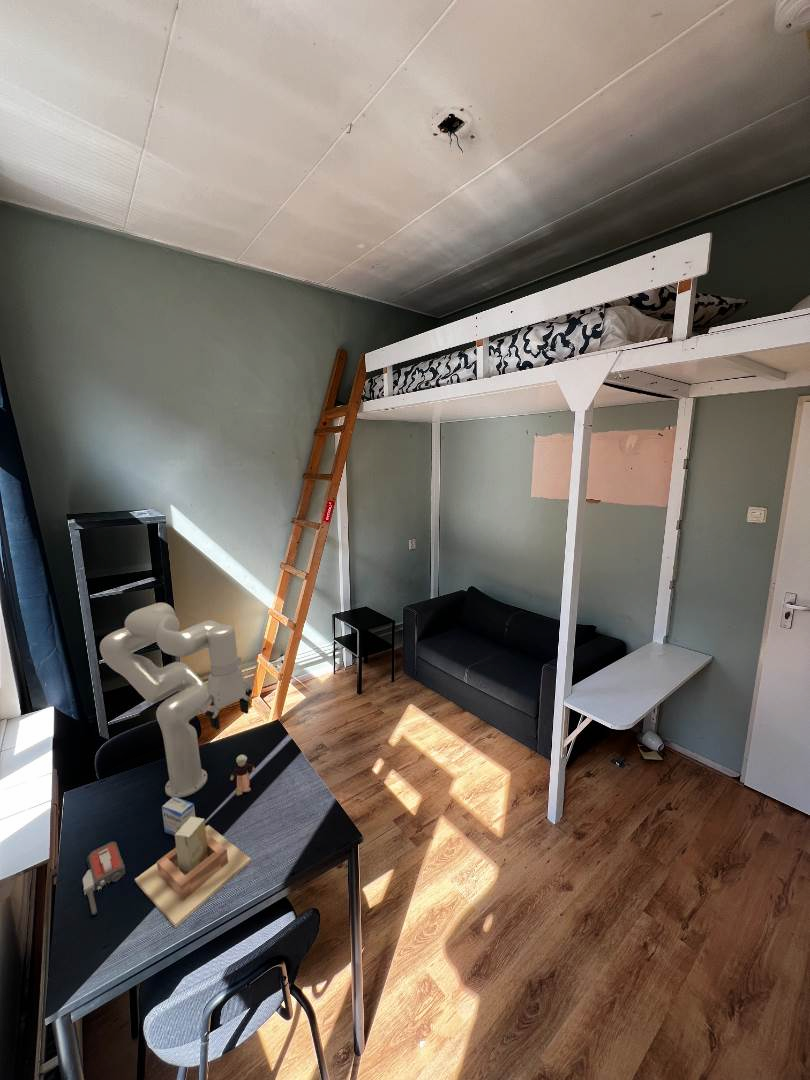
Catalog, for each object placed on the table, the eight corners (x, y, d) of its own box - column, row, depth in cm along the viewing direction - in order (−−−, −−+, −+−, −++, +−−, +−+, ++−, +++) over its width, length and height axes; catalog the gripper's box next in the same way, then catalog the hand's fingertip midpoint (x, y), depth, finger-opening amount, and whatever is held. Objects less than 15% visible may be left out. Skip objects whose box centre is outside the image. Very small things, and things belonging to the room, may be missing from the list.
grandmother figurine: (235, 799, 137) (231, 763, 135) (231, 793, 140) (227, 757, 137) (258, 787, 142) (255, 752, 140) (254, 781, 145) (250, 747, 142)
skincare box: (193, 880, 109) (188, 838, 107) (179, 877, 110) (173, 835, 108) (210, 857, 115) (205, 817, 113) (196, 855, 116) (190, 815, 114)
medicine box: (164, 832, 125) (160, 806, 124) (177, 821, 129) (174, 795, 128) (184, 840, 122) (181, 814, 121) (197, 828, 126) (194, 802, 125)
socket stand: (135, 882, 110) (132, 865, 109) (208, 827, 126) (206, 812, 125) (175, 928, 99) (173, 909, 98) (250, 861, 115) (249, 845, 114)
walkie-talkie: (78, 866, 116) (89, 921, 101) (76, 852, 115) (86, 906, 101) (117, 846, 122) (133, 895, 107) (114, 832, 121) (130, 880, 106)
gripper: (242, 653, 137) (247, 703, 140) (189, 676, 123) (196, 730, 126) (257, 658, 133) (262, 709, 136) (204, 682, 119) (211, 739, 122)
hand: (230, 719), depth 131 cm, fingers open, 9 cm apart
